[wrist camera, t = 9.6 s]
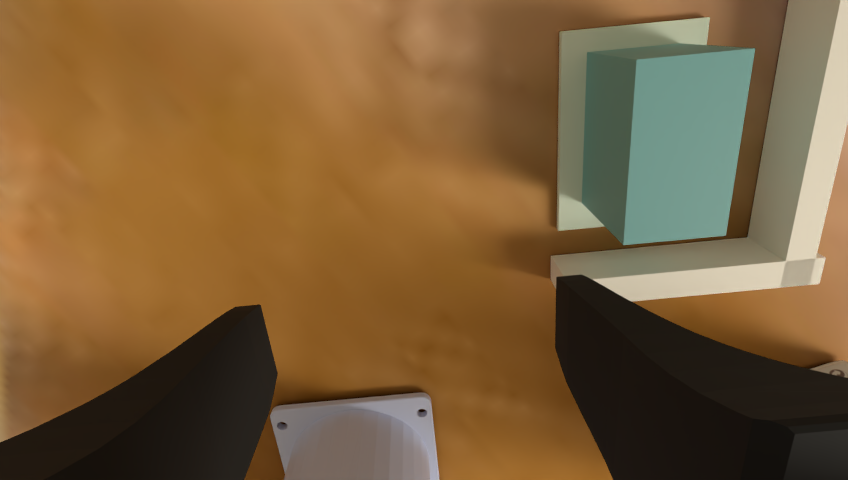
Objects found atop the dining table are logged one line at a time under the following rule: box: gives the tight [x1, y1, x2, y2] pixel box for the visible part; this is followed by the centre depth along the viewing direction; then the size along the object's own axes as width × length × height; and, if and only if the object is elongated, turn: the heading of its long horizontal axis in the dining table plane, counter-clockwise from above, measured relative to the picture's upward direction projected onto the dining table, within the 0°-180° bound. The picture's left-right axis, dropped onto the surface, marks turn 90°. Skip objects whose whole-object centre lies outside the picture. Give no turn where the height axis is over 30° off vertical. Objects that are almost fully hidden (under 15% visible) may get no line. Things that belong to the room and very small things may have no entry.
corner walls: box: [551, 0, 848, 301], centre depth 19 cm, size 13×10×2 cm
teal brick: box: [582, 43, 755, 245], centre depth 18 cm, size 6×4×4 cm, turn 5°
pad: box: [557, 17, 710, 231], centre depth 20 cm, size 8×6×1 cm
